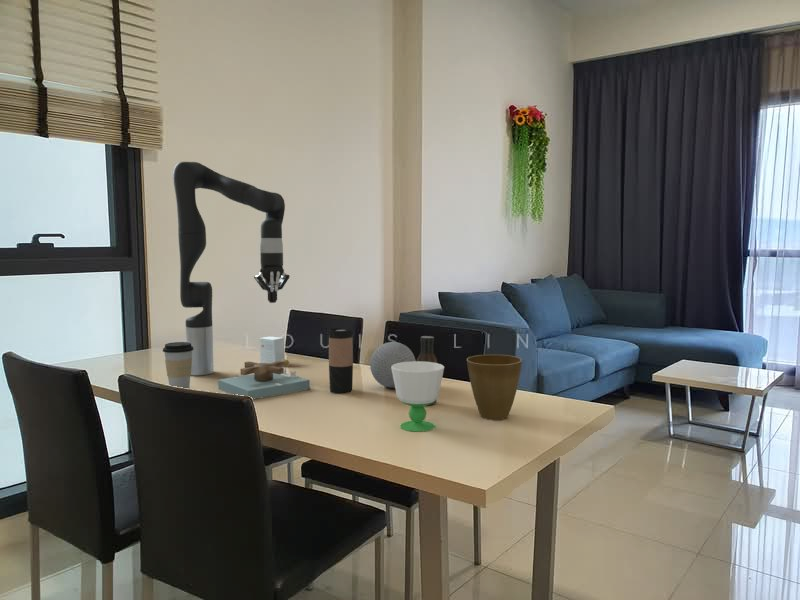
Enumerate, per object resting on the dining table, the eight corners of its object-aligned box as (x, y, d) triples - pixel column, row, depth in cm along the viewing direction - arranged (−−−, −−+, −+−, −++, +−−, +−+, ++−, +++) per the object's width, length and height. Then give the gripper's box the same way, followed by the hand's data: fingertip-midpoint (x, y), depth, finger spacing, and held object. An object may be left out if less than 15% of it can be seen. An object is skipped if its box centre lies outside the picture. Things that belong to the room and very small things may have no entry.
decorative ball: (415, 393, 195) (415, 346, 194) (368, 392, 196) (367, 345, 195) (416, 382, 210) (416, 338, 209) (372, 381, 211) (372, 338, 210)
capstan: (260, 387, 188) (260, 371, 188) (225, 379, 199) (225, 364, 198) (305, 376, 204) (305, 361, 203) (271, 370, 214) (271, 356, 213)
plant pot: (499, 406, 179) (500, 352, 178) (532, 419, 166) (533, 361, 165) (455, 413, 173) (456, 356, 171) (486, 427, 159) (487, 366, 158)
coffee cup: (184, 394, 194) (183, 346, 192) (157, 392, 196) (156, 345, 194) (200, 387, 203) (199, 342, 202) (174, 385, 205) (172, 341, 203)
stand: (218, 388, 201) (217, 373, 200) (277, 378, 215) (277, 364, 215) (249, 400, 185) (248, 384, 185) (310, 389, 200) (310, 374, 200)
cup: (404, 437, 151) (404, 373, 149) (383, 422, 163) (383, 363, 162) (453, 430, 156) (454, 369, 155) (429, 416, 169) (429, 359, 167)
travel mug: (334, 395, 193) (333, 331, 191) (325, 389, 200) (325, 328, 198) (356, 392, 196) (356, 330, 194) (347, 387, 203) (347, 327, 201)
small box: (285, 364, 241) (284, 337, 240) (275, 366, 237) (274, 339, 236) (270, 362, 246) (269, 336, 245) (259, 364, 241) (259, 337, 240)
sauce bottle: (435, 406, 179) (435, 338, 177) (414, 405, 181) (414, 338, 179) (438, 401, 185) (439, 335, 184) (418, 400, 187) (418, 334, 185)
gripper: (259, 252, 202) (260, 304, 204) (294, 251, 211) (295, 302, 212) (248, 251, 208) (249, 303, 209) (282, 251, 216) (283, 300, 218)
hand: (272, 302), depth 211 cm, fingers closed
